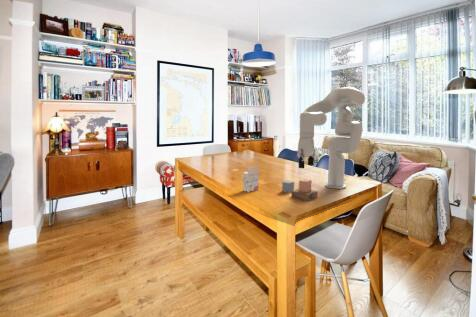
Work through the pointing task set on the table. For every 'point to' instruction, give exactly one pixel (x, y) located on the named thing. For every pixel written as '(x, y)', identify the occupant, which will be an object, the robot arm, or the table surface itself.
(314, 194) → the walnut block
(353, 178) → the table surface
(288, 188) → the slate grey block
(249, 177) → the ink cartridge box
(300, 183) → the terracotta block
